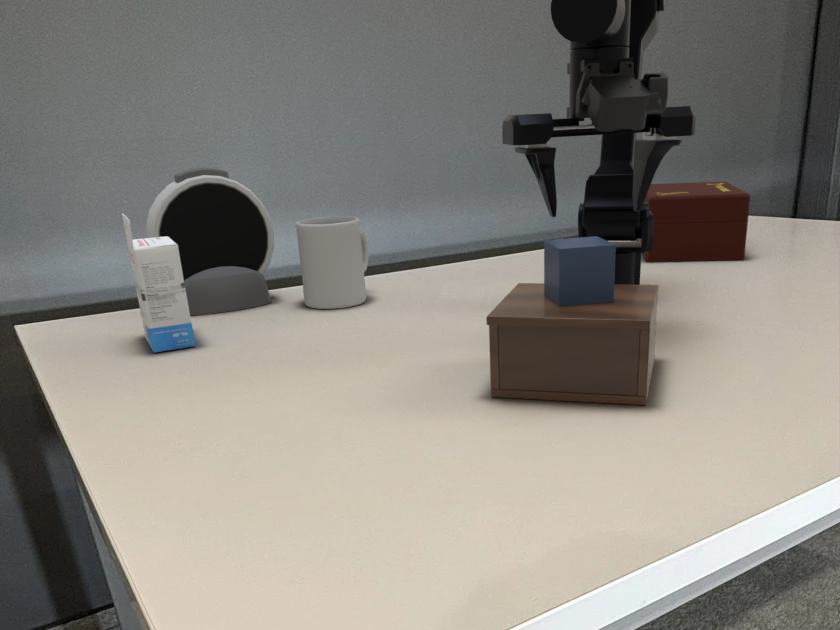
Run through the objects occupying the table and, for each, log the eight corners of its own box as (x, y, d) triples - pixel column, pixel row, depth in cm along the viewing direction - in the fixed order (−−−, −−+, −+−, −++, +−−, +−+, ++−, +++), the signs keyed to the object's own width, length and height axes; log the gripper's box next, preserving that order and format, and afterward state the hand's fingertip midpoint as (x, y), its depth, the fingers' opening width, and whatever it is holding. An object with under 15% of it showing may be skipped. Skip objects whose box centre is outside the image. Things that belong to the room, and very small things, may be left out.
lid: (649, 330, 64) (650, 320, 64) (486, 325, 68) (486, 316, 68) (658, 293, 76) (658, 284, 76) (518, 290, 80) (518, 282, 79)
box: (629, 241, 146) (631, 184, 142) (722, 238, 143) (727, 180, 139) (636, 262, 127) (639, 196, 123) (744, 259, 124) (751, 193, 120)
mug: (341, 311, 105) (332, 225, 100) (292, 306, 109) (281, 223, 104) (392, 292, 114) (387, 213, 110) (345, 288, 118) (338, 212, 114)
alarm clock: (169, 320, 105) (141, 174, 97) (157, 306, 113) (130, 170, 106) (288, 302, 111) (270, 164, 104) (268, 290, 120) (250, 161, 112)
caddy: (646, 405, 68) (650, 327, 65) (490, 397, 71) (488, 323, 69) (654, 361, 79) (658, 293, 76) (519, 356, 82) (518, 291, 80)
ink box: (198, 346, 92) (174, 215, 86) (153, 354, 90) (126, 219, 84) (186, 331, 99) (164, 208, 93) (144, 337, 97) (118, 212, 91)
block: (595, 290, 75) (597, 236, 73) (613, 302, 70) (615, 244, 68) (544, 294, 74) (544, 240, 72) (559, 306, 69) (559, 248, 67)
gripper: (526, 46, 69) (527, 230, 76) (727, 38, 72) (713, 217, 78) (499, 55, 80) (502, 216, 86) (677, 47, 82) (667, 205, 88)
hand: (595, 213), depth 84 cm, fingers open, 9 cm apart
